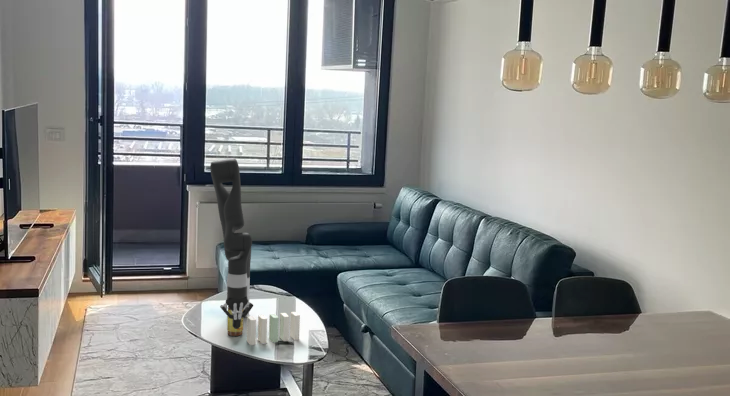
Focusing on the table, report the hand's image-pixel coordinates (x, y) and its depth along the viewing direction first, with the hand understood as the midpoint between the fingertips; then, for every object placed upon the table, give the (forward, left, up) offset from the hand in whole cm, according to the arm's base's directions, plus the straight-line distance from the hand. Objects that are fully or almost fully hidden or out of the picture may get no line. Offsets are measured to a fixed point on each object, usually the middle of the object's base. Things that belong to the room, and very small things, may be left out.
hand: (236, 328), depth 266 cm
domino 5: (0, +24, -7) cm, 25 cm away
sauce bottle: (-12, +3, -7) cm, 14 cm away
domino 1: (0, +6, -7) cm, 9 cm away
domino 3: (0, +15, -7) cm, 16 cm away
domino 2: (0, +10, -7) cm, 12 cm away
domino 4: (0, +19, -7) cm, 20 cm away
